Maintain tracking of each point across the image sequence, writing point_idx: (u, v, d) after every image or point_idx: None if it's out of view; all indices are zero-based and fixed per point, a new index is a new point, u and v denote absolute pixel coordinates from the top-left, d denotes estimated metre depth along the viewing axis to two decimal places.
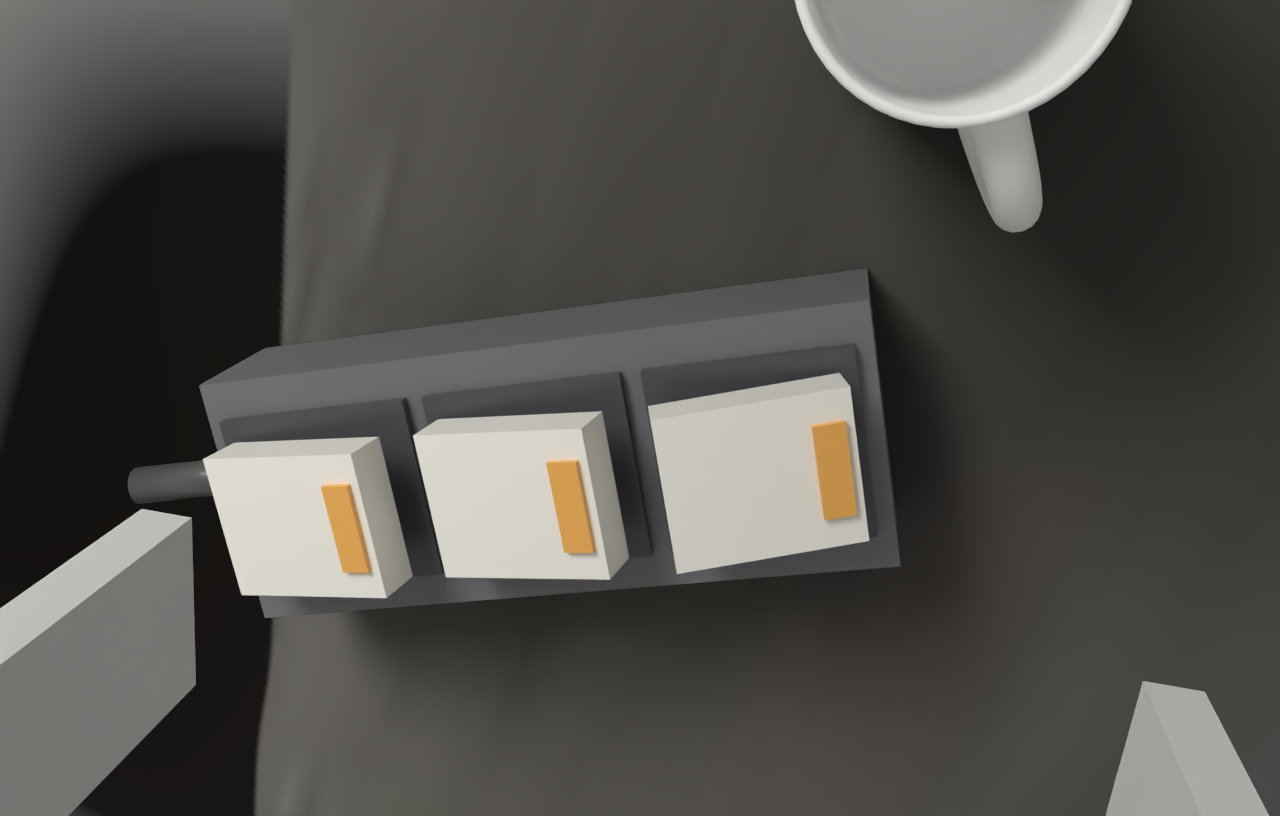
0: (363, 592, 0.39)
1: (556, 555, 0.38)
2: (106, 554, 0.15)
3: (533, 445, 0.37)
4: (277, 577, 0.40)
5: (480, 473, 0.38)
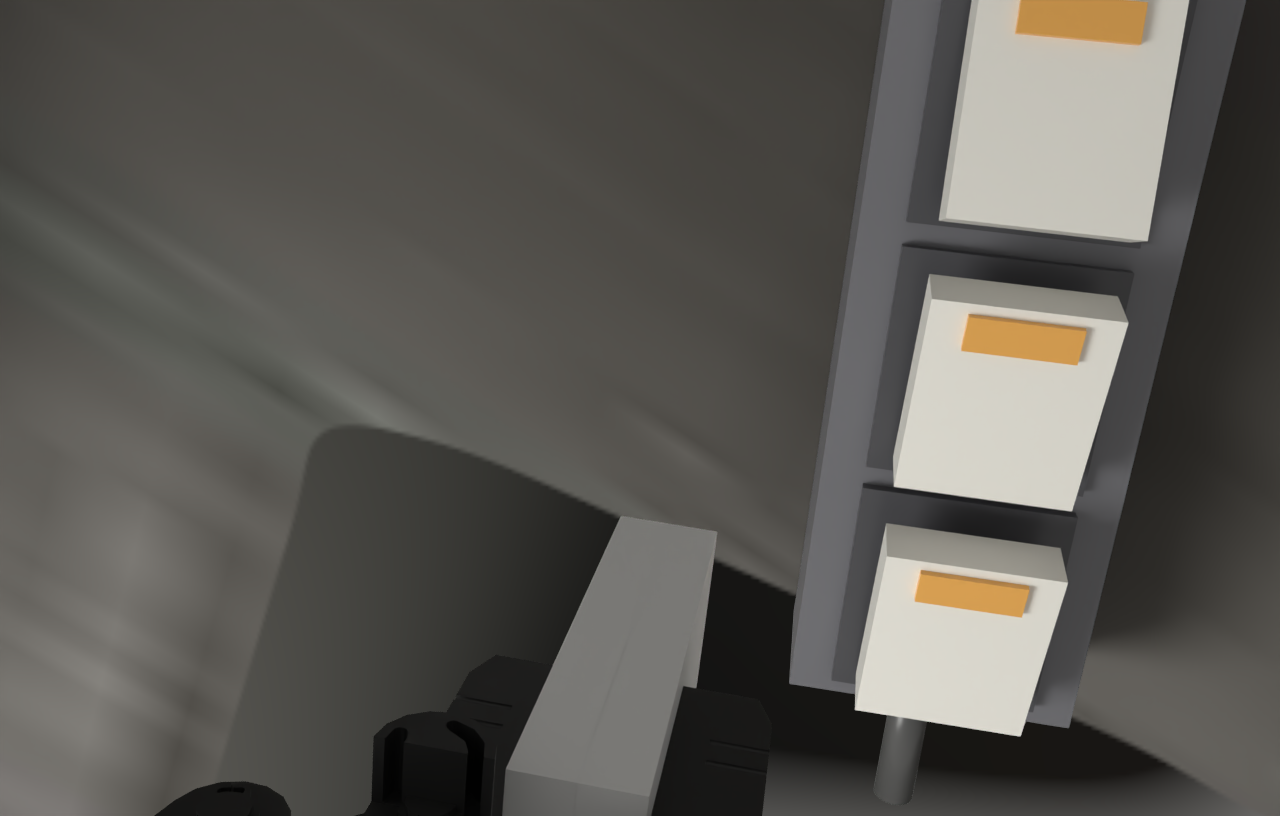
0: (1053, 605, 0.34)
1: (1080, 376, 0.32)
2: (626, 557, 0.17)
3: (938, 359, 0.32)
4: (1010, 690, 0.36)
5: (956, 429, 0.33)
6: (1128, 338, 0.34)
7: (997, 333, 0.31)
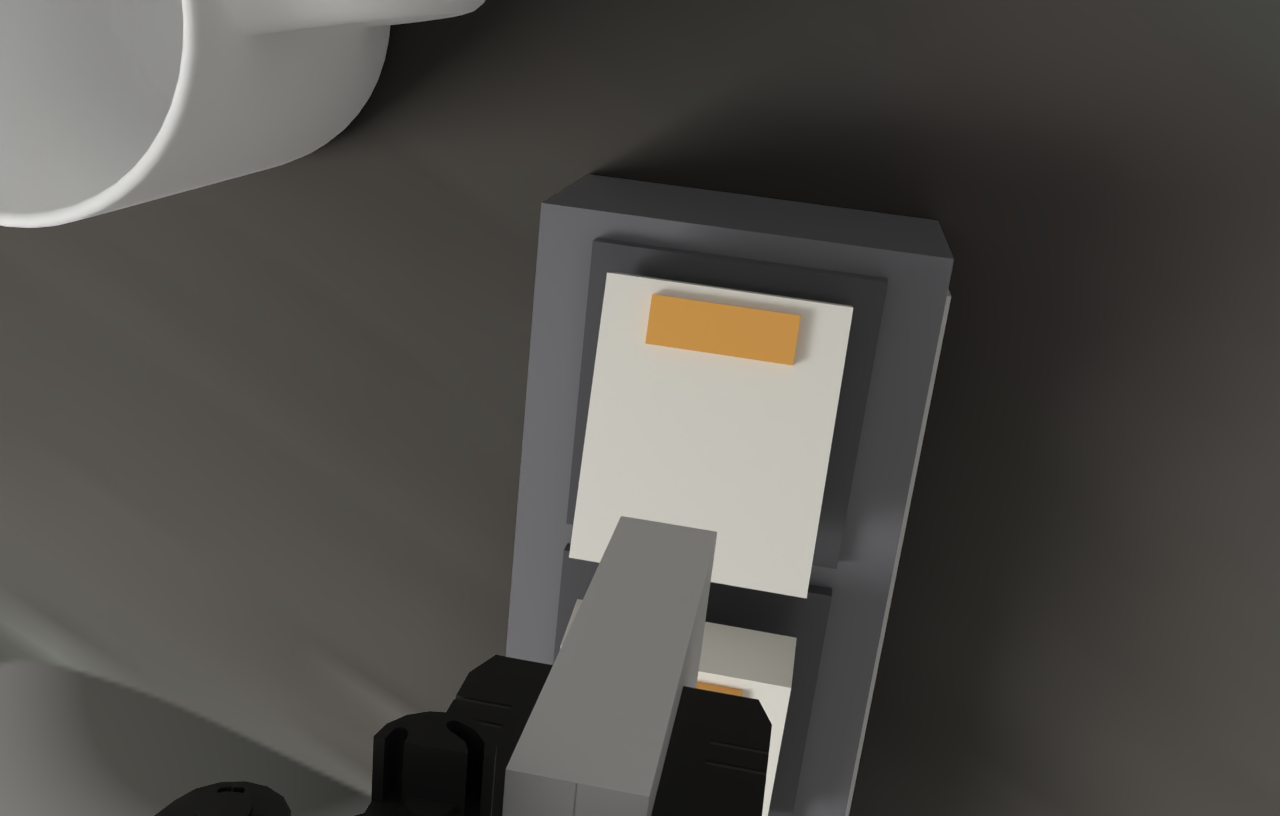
0: None
1: None
2: (625, 557, 0.17)
3: None
4: None
5: None
6: (833, 663, 0.29)
7: None
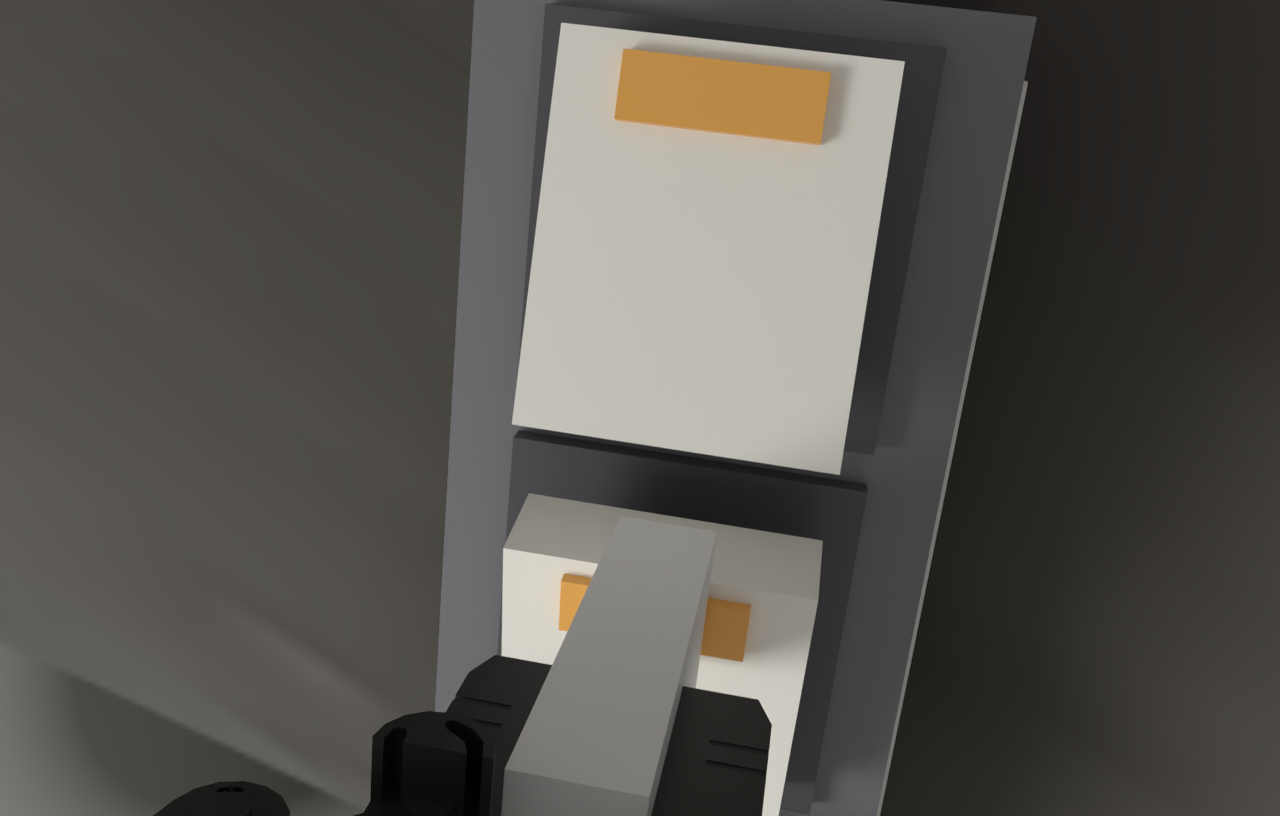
0: None
1: (752, 675, 0.19)
2: (625, 558, 0.17)
3: (530, 636, 0.20)
4: None
5: None
6: (868, 585, 0.22)
7: None
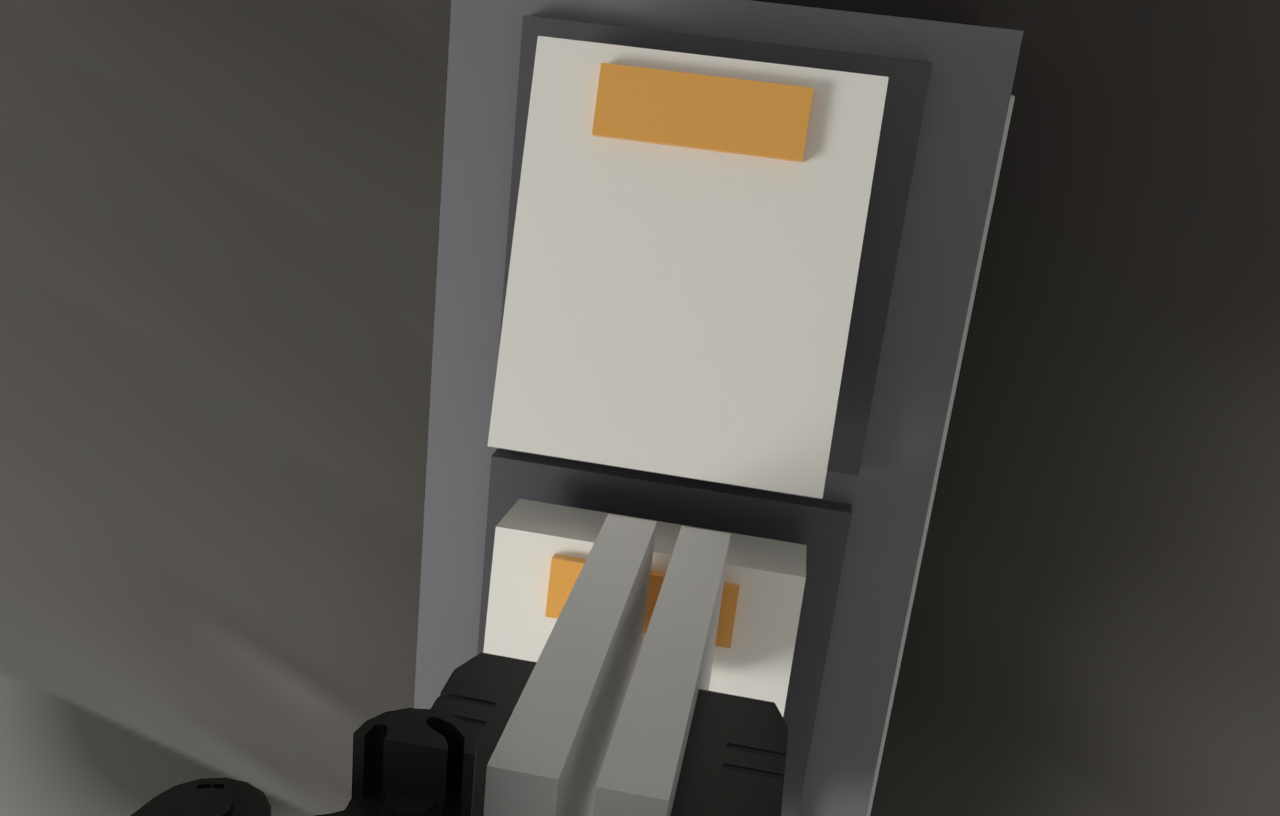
0: None
1: (739, 669, 0.19)
2: (612, 555, 0.17)
3: (514, 630, 0.20)
4: None
5: None
6: (853, 606, 0.22)
7: None
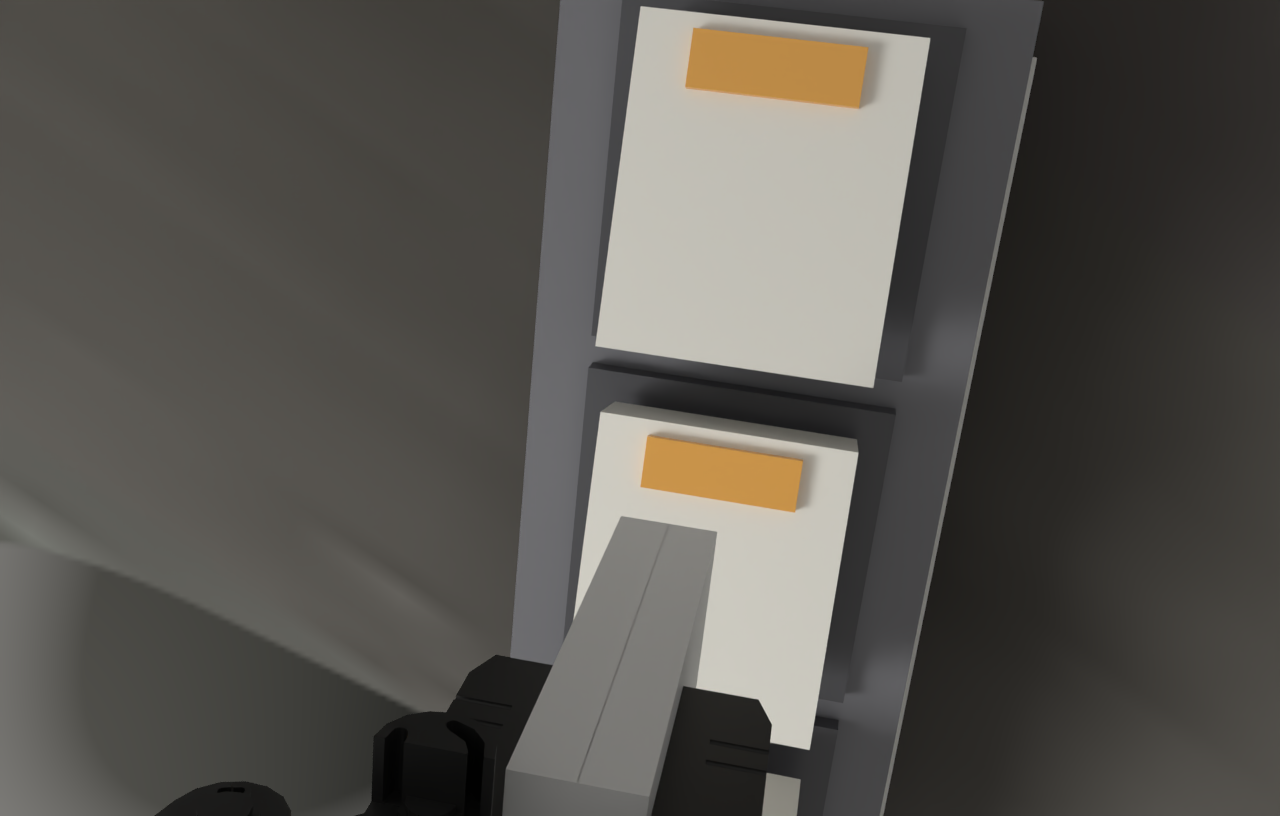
0: None
1: (802, 532, 0.23)
2: (626, 558, 0.17)
3: (613, 501, 0.23)
4: None
5: None
6: (896, 498, 0.25)
7: (686, 461, 0.23)
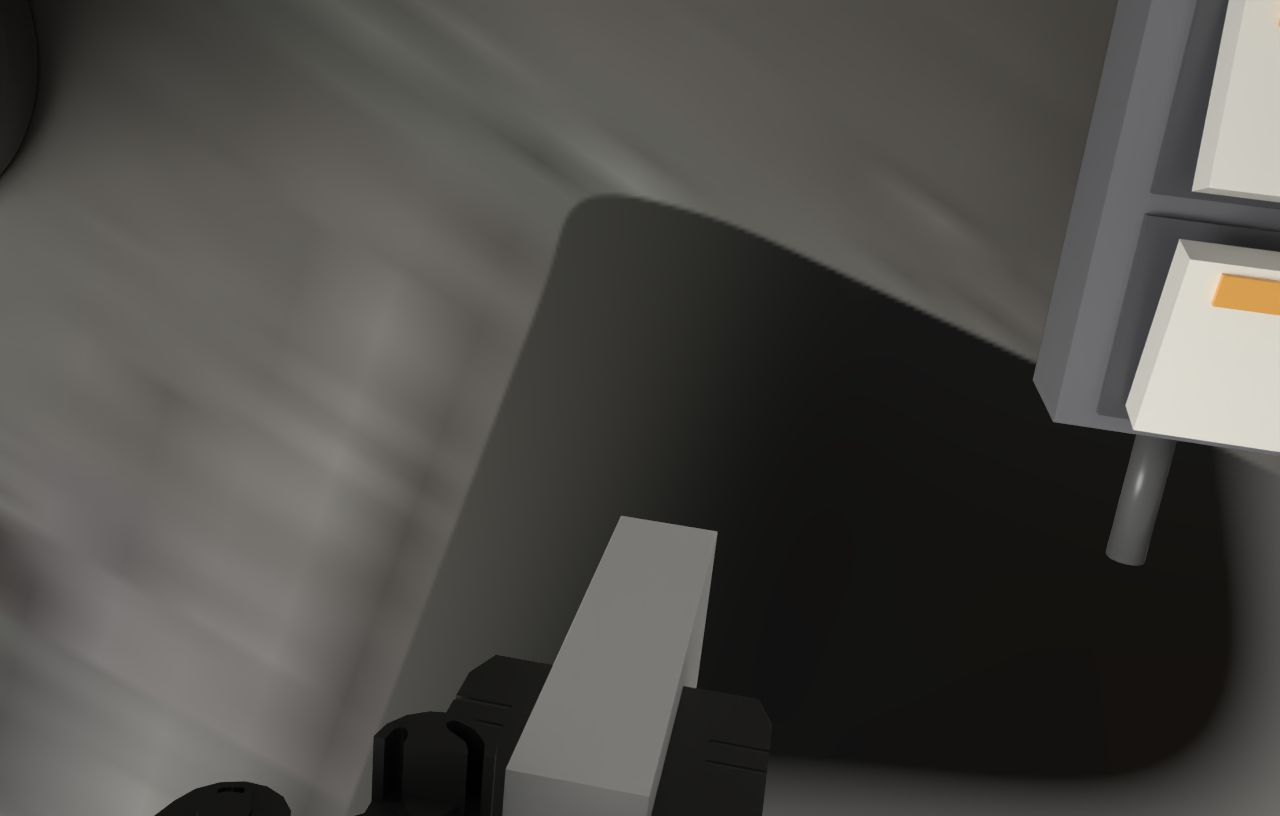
0: None
1: None
2: (626, 558, 0.17)
3: (1255, 39, 0.34)
4: None
5: (1272, 117, 0.34)
6: None
7: None
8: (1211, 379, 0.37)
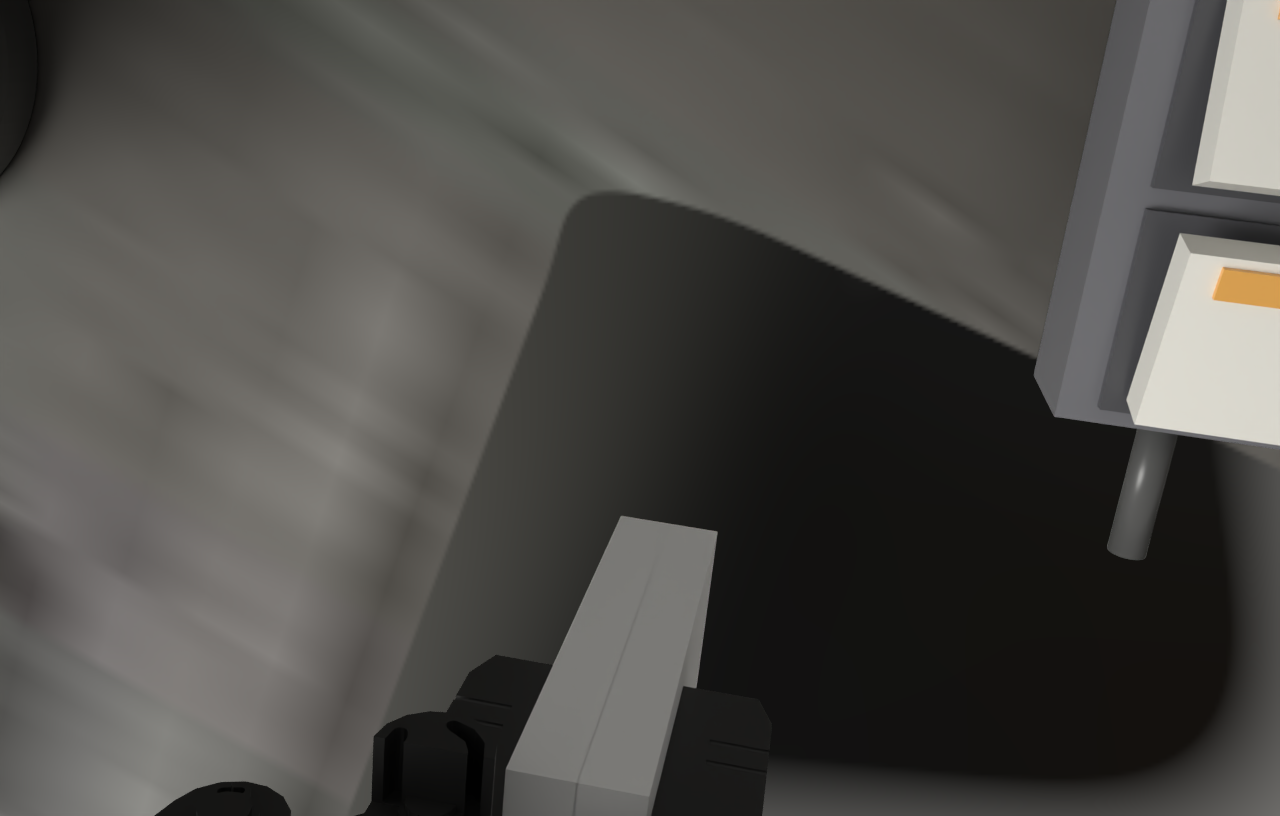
0: None
1: None
2: (626, 558, 0.17)
3: (1255, 32, 0.34)
4: None
5: (1273, 110, 0.34)
6: None
7: None
8: (1212, 373, 0.37)
